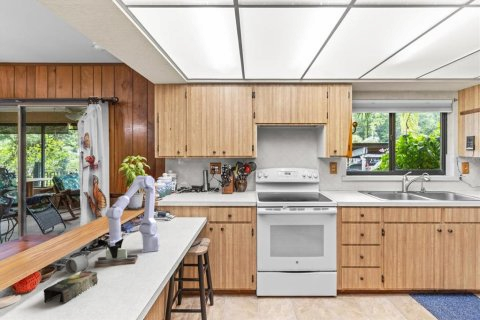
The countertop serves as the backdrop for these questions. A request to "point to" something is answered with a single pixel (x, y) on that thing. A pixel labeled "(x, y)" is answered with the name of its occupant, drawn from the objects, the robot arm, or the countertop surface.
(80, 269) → the grey cylinder
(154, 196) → the robot arm
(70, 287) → the mossy channel block
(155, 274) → the countertop surface
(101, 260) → the track board
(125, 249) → the door panel
